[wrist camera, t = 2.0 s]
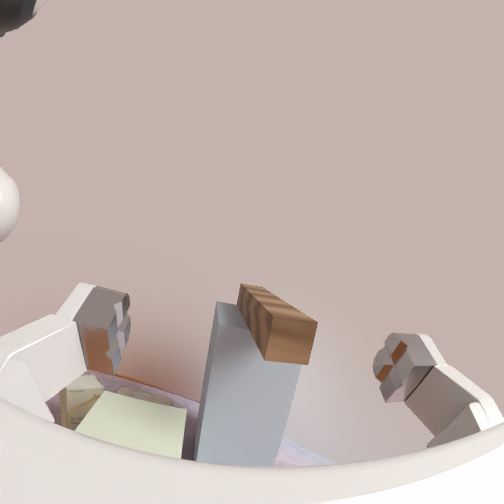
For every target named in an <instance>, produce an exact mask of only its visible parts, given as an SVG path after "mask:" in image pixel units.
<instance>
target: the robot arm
mask: <svg viewBox="0 0 504 504" xmlns="http://www.w3.org/2000/svg"><path fill="white" fill-rule="evenodd" d="M46 1H47V0H0V37H2V36H4V34H5V33H6V32H9V31H12V30H14V29H18V28H19V27H21V26H22V25H24V24H25V23H27V22H28V21H29V20H31V19H32V18H33V17H34V16H35V14H36V13H37V11H38V10H39V9H40V8H41V7H42V6H43V4H44V3H45V2H46ZM19 212H20V195H19V190H18V188H17V185H16V183H15V181H14V180H13V179H12V178H11V177H10V176H9V175H8V174H7V173H6V172H5V171H4V170H3V168H2V167H1V166H0V242H2V241H3V240H4V239H6V238H7V237H8V235H9V234H10V233H11V232H12V230H13V229H14V227H15V225H16V223H17V220H18V216H19ZM129 306H130V300H129V295H128V294H126V293H123V292H119V291H115V290H111V289H107V288H103V287H100V286H95V285H91V284H87V283H84V282H81V283H79V284H78V285H77V286H76V287H75V289H74V290H73V291H72V293H71V294H70V295H69V297H68V298H67V299H66V301H65V302H64V304H63V305H62V306H61V308H60V309H59V311H58V312H57V313H56V315H52V314H50V315H48V316H46V317H43V318H41V319H39V320H37V321H35V322H32V323H30V324H28V325H26V326H23V327H21V328H19V329H17V330H15V331H12V332H10V333H8V334H6V335H4V336H2V337H0V504H504V418H503V416H502V415H501V413H500V411H499V409H498V407H497V406H496V404H495V402H494V400H493V398H492V397H491V396H490V395H488V394H487V393H486V392H485V391H483V390H482V389H481V388H479V387H478V386H477V385H475V384H474V383H473V382H471V381H470V380H469V379H468V378H466V377H465V376H464V375H462V374H461V373H460V372H458V371H457V370H456V369H454V368H453V367H451V366H450V365H447V364H446V362H445V361H444V359H443V357H442V356H441V354H440V353H439V351H438V349H437V348H436V347H435V345H434V343H433V341H432V340H431V338H430V337H429V336H428V335H426V334H404V333H391V334H390V335H389V336H388V337H387V339H386V340H385V347H384V348H382V349H381V350H379V351H378V353H377V355H376V356H375V358H374V363H373V372H374V374H375V377H376V378H377V379H378V380H379V381H380V382H381V385H380V390H381V392H382V395H383V398H384V400H385V402H386V403H387V402H404V403H405V404H406V405H407V406H408V407H409V408H410V409H411V411H412V412H413V413H414V414H415V415H416V416H417V417H418V418H419V419H420V420H421V421H422V423H423V424H424V425H425V426H426V427H427V428H428V429H429V430H430V431H431V433H432V434H433V435H434V436H435V437H434V438H433V439H432V440H431V441H430V442H429V443H428V445H427V449H423V450H419V451H415V452H411V453H406V454H401V455H397V456H391V457H386V458H380V459H374V460H368V461H361V462H353V463H344V464H334V465H321V466H302V467H258V466H239V465H226V464H216V463H207V462H199V461H192V460H185V459H179V458H173V457H168V456H163V455H158V454H153V453H148V452H144V451H140V450H135V449H131V448H127V447H124V446H120V445H116V444H113V443H109V442H106V441H103V440H100V439H96V438H93V437H90V436H87V435H84V434H82V433H79V432H76V431H73V430H71V429H68V428H65V427H63V426H60V425H58V424H55V423H54V422H55V420H54V417H53V415H52V413H51V412H50V410H49V408H48V406H47V404H46V403H45V402H46V401H48V400H49V399H50V398H51V397H53V396H54V395H55V394H57V393H58V392H59V391H61V390H62V389H63V388H65V387H66V386H67V385H69V384H70V383H71V382H73V381H74V380H75V379H77V378H78V377H79V376H81V375H82V374H83V373H85V372H86V371H87V369H90V370H93V371H97V372H101V373H105V374H109V375H113V376H115V373H116V370H117V368H118V365H119V362H120V360H121V355H120V351H121V350H122V349H124V348H125V347H126V344H127V342H128V338H129V333H130V317H129V315H128V314H127V311H128V308H129Z"/></svg>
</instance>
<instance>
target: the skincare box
mask: <svg viewBox="0 0 504 504" xmlns="http://www.w3.org/2000/svg"><path fill="white" fill-rule="evenodd" d="M103 392H104V386H103V385H102V384H101V382H100V381H99V380H98V379H97V377H96V376H95V375H81V376H79V377H78V378H77V379H75V380H74V381H73V382H71V383H70V384H69V385H67V386H66V387H65V388H63V389H62V390H61V391H59V399H60V414H61V425H62V426H63V427H65V428H68V429H71V430H73V431H75V430H76V428H77V427H78V426H79V424H80V423H81V422H82V420H83V419H84V417H85V416H86V415H87V413H88V412H89V411H90V410H91V408H92V407H93V406H94V404H95V403H96V402H97V400H98V399H99V398H100V396H101V395H102V394H103Z"/></svg>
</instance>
